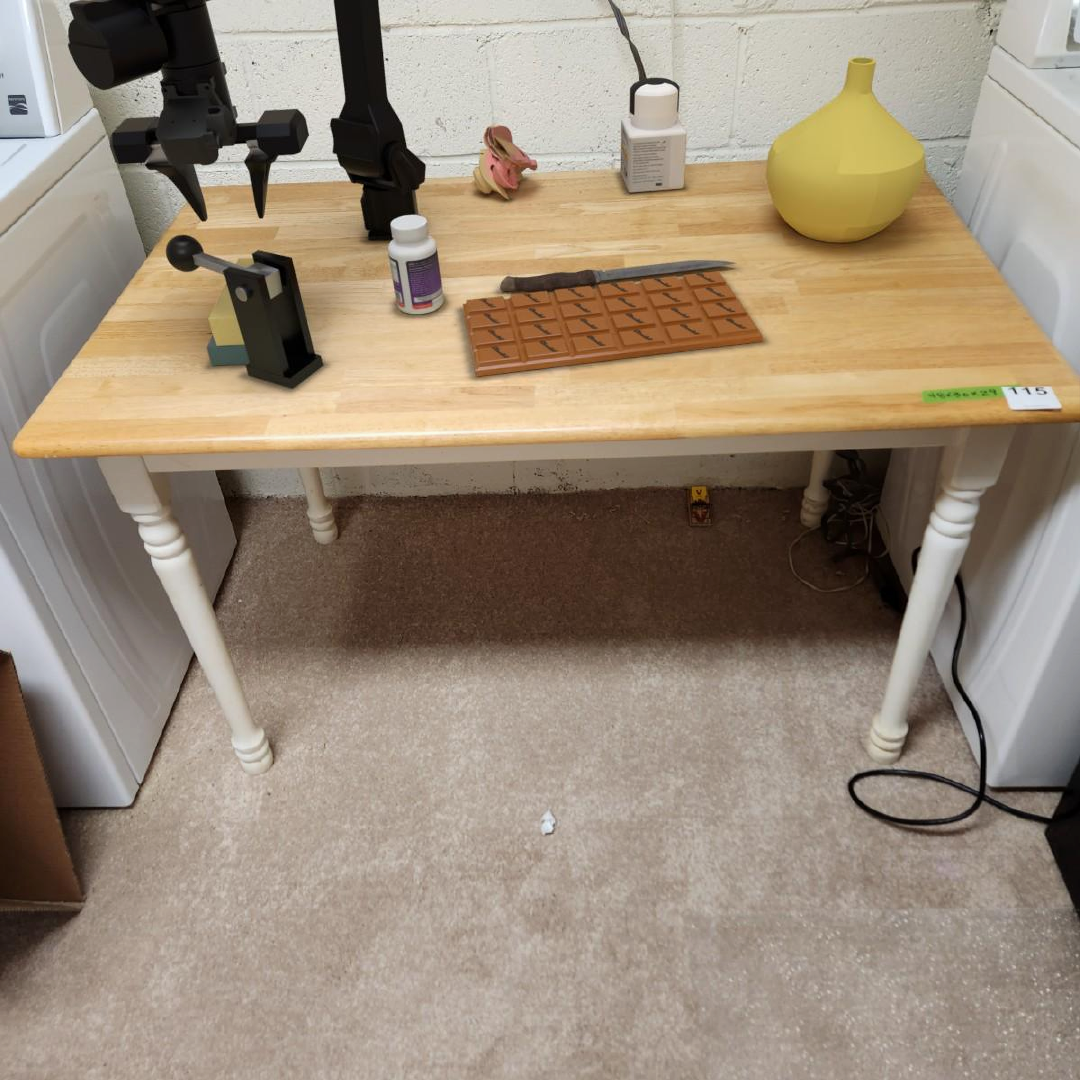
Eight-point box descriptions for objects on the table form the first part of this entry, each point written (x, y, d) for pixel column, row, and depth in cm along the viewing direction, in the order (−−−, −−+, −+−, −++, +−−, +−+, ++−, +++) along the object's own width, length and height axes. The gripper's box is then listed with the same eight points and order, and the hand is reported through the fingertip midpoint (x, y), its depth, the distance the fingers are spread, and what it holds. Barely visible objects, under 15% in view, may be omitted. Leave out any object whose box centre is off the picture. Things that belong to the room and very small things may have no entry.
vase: (847, 273, 106) (881, 97, 93) (729, 226, 117) (744, 62, 104) (940, 226, 114) (983, 58, 102) (821, 186, 125) (846, 30, 112)
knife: (729, 259, 110) (730, 248, 110) (738, 271, 108) (739, 260, 107) (498, 285, 108) (497, 274, 107) (502, 298, 106) (501, 288, 105)
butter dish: (286, 298, 108) (281, 281, 107) (260, 363, 97) (255, 345, 96) (242, 300, 108) (237, 283, 107) (211, 366, 98) (205, 347, 96)
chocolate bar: (463, 309, 104) (462, 297, 103) (720, 279, 107) (721, 267, 106) (476, 376, 93) (475, 364, 93) (761, 341, 96) (763, 329, 95)
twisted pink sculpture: (475, 211, 126) (446, 147, 126) (507, 219, 135) (481, 160, 135) (529, 175, 122) (499, 108, 122) (559, 186, 131) (532, 124, 130)
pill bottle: (451, 296, 107) (441, 214, 100) (432, 318, 103) (421, 234, 97) (409, 290, 108) (396, 209, 102) (389, 312, 104) (374, 229, 98)
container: (620, 173, 132) (621, 75, 124) (673, 168, 133) (678, 71, 124) (628, 193, 127) (630, 93, 118) (684, 189, 127) (690, 88, 118)
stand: (244, 377, 95) (212, 271, 88) (283, 350, 99) (255, 246, 91) (289, 391, 93) (260, 283, 85) (326, 362, 97) (302, 256, 89)
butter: (245, 284, 107) (238, 258, 104) (273, 282, 107) (266, 256, 104) (216, 346, 96) (207, 318, 94) (246, 344, 96) (238, 317, 94)
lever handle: (162, 272, 93) (153, 238, 91) (188, 257, 96) (180, 224, 93) (264, 310, 89) (257, 276, 87) (288, 294, 91) (283, 260, 89)
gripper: (62, 91, 83) (123, 256, 93) (269, 79, 82) (307, 246, 93) (104, 56, 91) (155, 211, 101) (292, 46, 90) (324, 202, 101)
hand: (233, 218), depth 99 cm, fingers open, 6 cm apart
